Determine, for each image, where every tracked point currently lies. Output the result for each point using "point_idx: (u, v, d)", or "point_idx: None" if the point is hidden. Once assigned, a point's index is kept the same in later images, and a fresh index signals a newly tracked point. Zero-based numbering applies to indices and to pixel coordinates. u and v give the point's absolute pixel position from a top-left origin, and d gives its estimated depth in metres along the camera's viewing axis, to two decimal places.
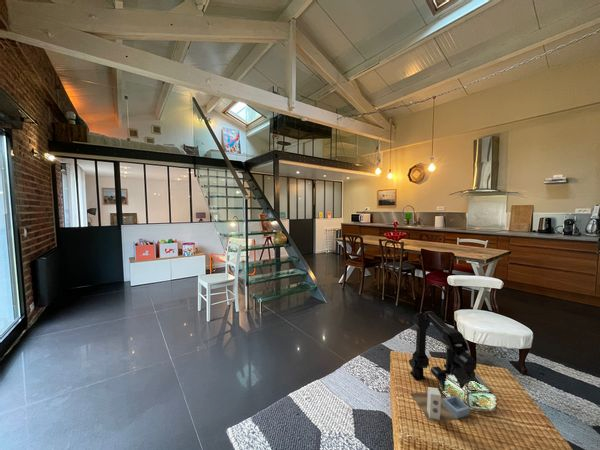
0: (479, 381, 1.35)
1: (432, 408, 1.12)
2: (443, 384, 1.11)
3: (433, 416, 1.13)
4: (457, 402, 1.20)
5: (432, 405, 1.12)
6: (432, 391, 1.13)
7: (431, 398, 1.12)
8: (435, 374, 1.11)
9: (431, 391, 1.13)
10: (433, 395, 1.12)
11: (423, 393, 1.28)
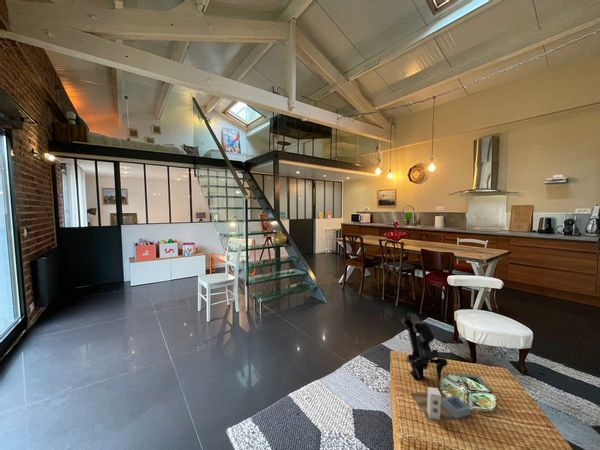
0: (479, 381, 1.35)
1: (432, 408, 1.12)
2: (417, 369, 1.23)
3: (433, 416, 1.13)
4: (457, 402, 1.20)
5: (432, 405, 1.12)
6: (432, 391, 1.13)
7: (431, 398, 1.12)
8: (408, 357, 1.28)
9: (431, 391, 1.13)
10: (433, 395, 1.12)
11: (423, 393, 1.28)
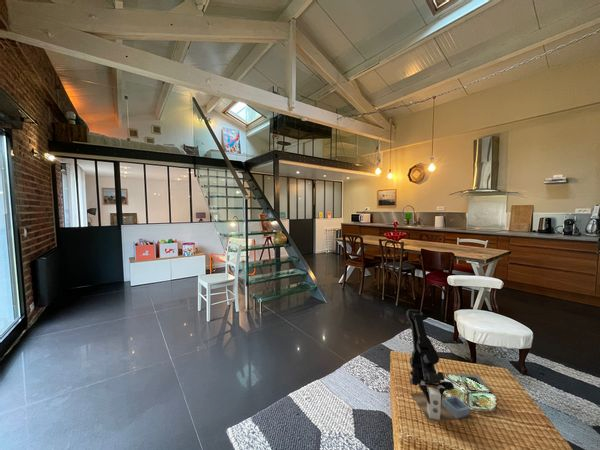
0: (479, 381, 1.35)
1: (432, 408, 1.12)
2: (426, 394, 1.15)
3: (433, 416, 1.13)
4: (457, 402, 1.20)
5: (432, 405, 1.12)
6: (432, 391, 1.13)
7: (431, 398, 1.12)
8: (411, 380, 1.19)
9: (431, 391, 1.13)
10: (433, 395, 1.12)
11: (423, 393, 1.28)
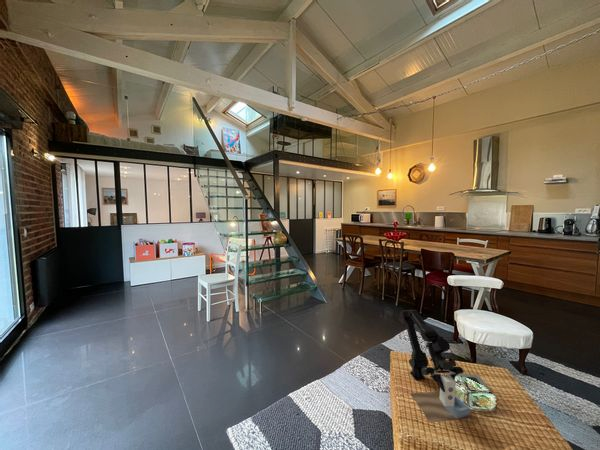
0: (479, 381, 1.35)
1: (447, 396, 1.12)
2: (441, 382, 1.14)
3: (448, 404, 1.13)
4: (457, 402, 1.20)
5: (448, 393, 1.12)
6: (446, 379, 1.13)
7: (446, 386, 1.12)
8: (424, 371, 1.17)
9: (445, 379, 1.13)
10: (449, 383, 1.12)
11: (423, 393, 1.28)
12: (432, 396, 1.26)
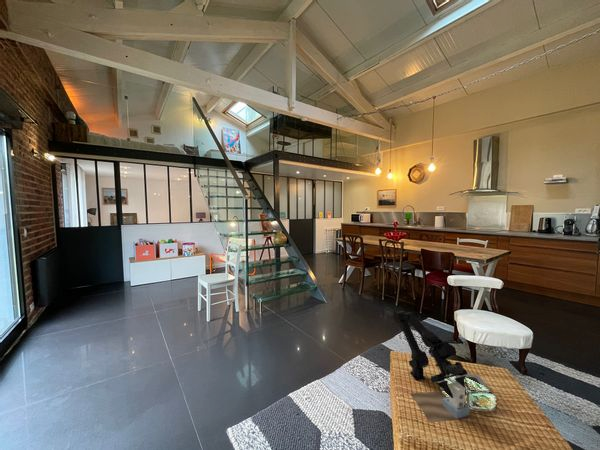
0: (479, 381, 1.35)
1: (458, 404, 1.14)
2: (448, 389, 1.15)
3: None
4: None
5: (459, 400, 1.14)
6: (457, 386, 1.15)
7: (458, 394, 1.14)
8: (435, 379, 1.17)
9: (456, 387, 1.15)
10: (460, 391, 1.14)
11: (423, 393, 1.28)
12: (432, 396, 1.26)
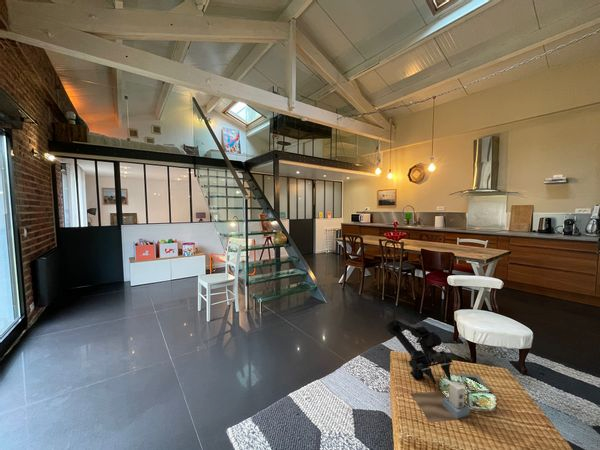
0: (479, 381, 1.35)
1: (458, 404, 1.14)
2: (432, 375, 1.24)
3: None
4: None
5: (458, 400, 1.14)
6: (456, 386, 1.16)
7: (458, 394, 1.14)
8: (420, 366, 1.27)
9: (456, 386, 1.15)
10: (459, 390, 1.14)
11: (423, 393, 1.28)
12: (432, 396, 1.26)
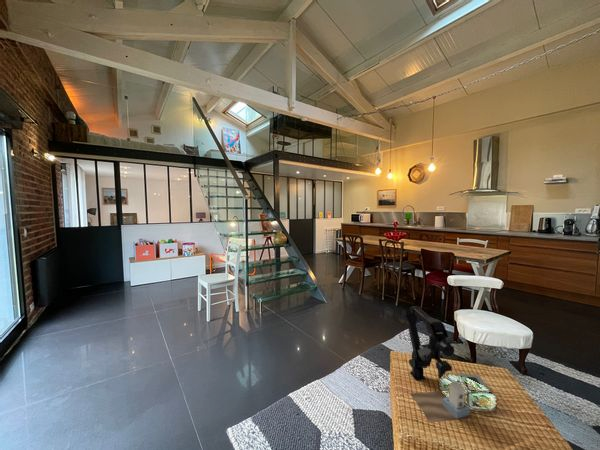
0: (479, 381, 1.35)
1: (458, 404, 1.14)
2: None
3: None
4: None
5: (458, 400, 1.14)
6: (456, 386, 1.16)
7: (458, 394, 1.14)
8: None
9: (456, 386, 1.15)
10: (459, 390, 1.14)
11: (423, 393, 1.28)
12: (432, 396, 1.26)
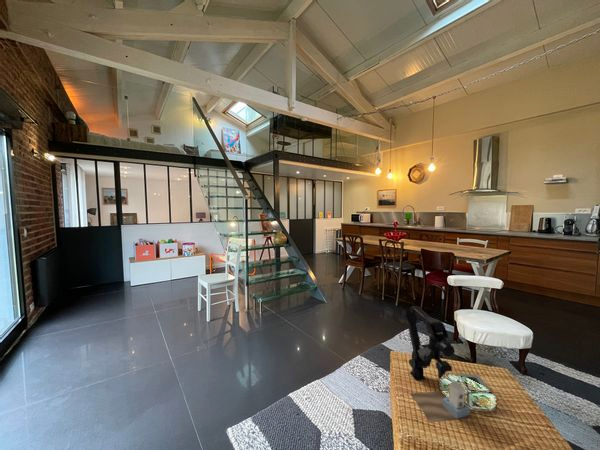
0: (479, 381, 1.35)
1: (458, 404, 1.14)
2: None
3: None
4: None
5: (458, 400, 1.14)
6: (456, 386, 1.16)
7: (458, 394, 1.14)
8: None
9: (456, 386, 1.15)
10: (459, 390, 1.14)
11: (423, 393, 1.28)
12: (432, 396, 1.26)
